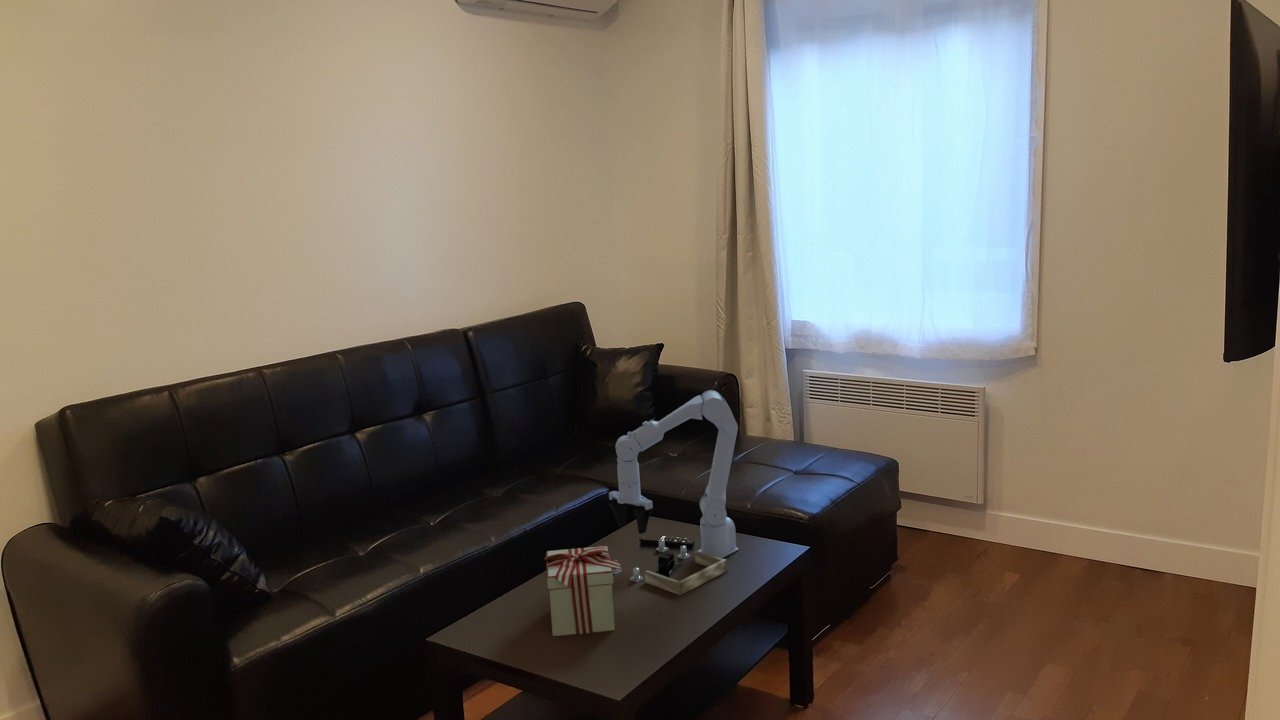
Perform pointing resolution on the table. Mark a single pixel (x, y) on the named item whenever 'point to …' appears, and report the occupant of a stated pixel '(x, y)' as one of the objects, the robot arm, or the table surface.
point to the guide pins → (661, 549)
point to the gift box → (581, 590)
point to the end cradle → (680, 587)
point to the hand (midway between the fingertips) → (632, 529)
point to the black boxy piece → (667, 564)
